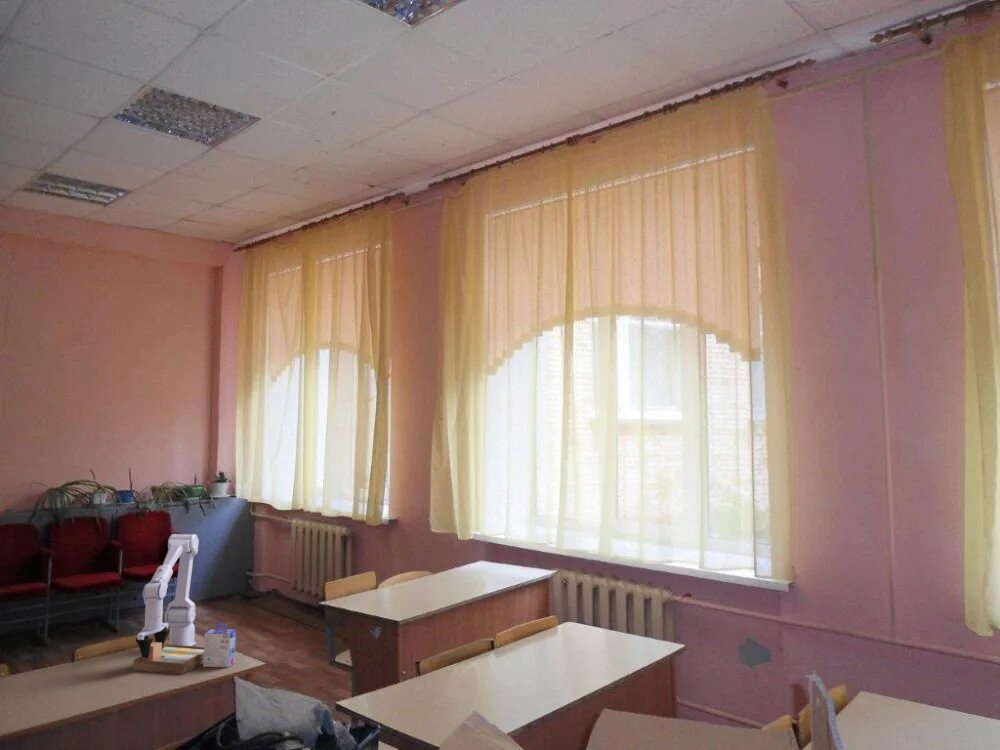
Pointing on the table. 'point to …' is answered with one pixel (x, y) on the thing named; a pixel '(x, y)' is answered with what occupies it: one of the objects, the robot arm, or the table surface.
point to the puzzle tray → (169, 664)
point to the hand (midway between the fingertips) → (152, 654)
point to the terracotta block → (155, 651)
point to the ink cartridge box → (219, 647)
